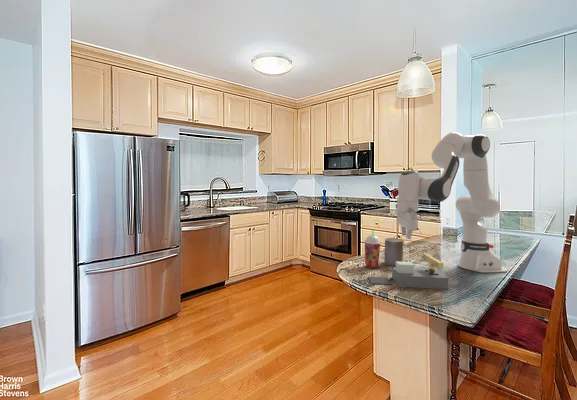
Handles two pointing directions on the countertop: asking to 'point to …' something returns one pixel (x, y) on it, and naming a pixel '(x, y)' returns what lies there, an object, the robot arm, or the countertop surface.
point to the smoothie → (372, 251)
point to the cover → (404, 267)
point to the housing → (421, 279)
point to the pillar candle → (393, 251)
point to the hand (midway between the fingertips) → (406, 237)
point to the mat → (379, 280)
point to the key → (432, 262)
